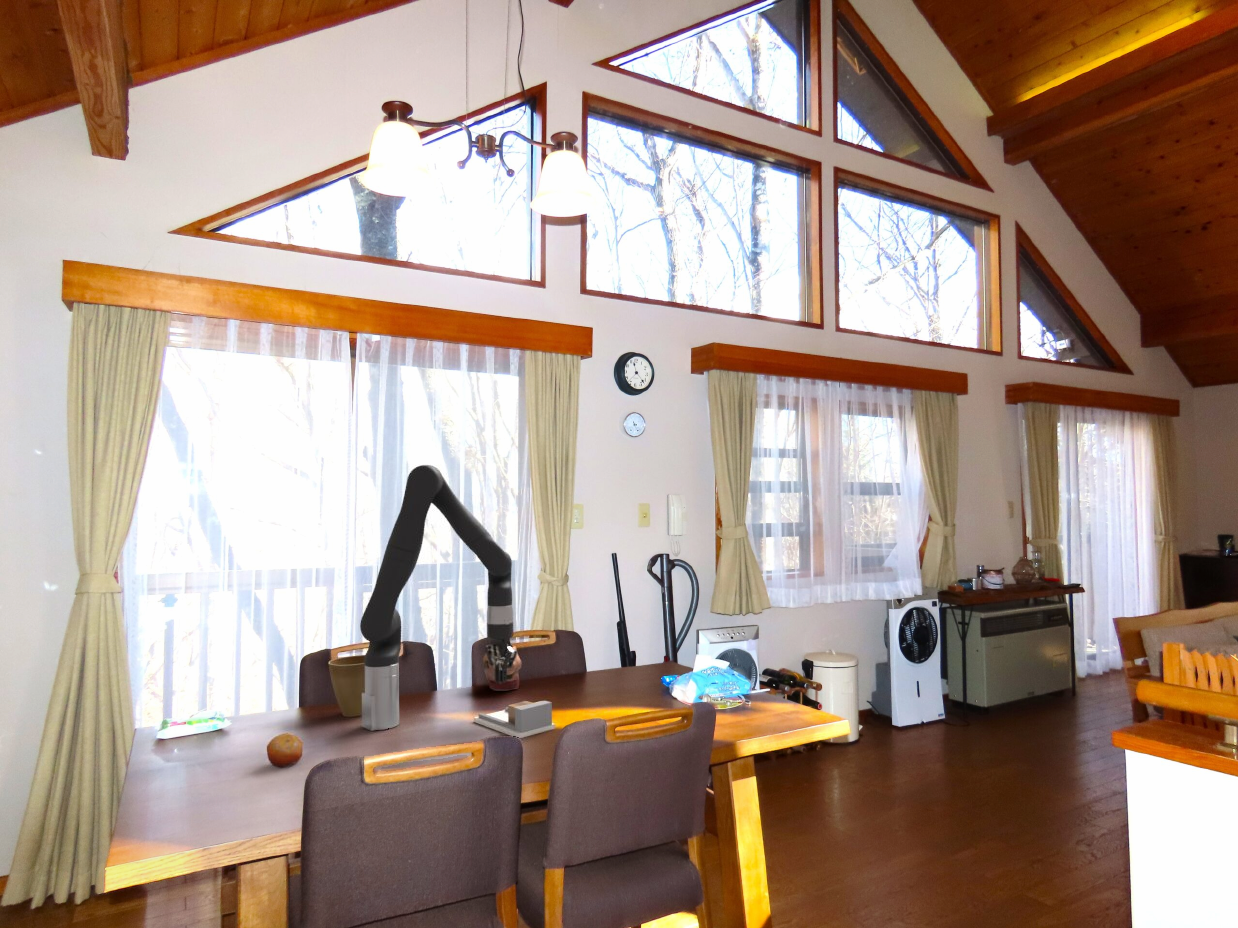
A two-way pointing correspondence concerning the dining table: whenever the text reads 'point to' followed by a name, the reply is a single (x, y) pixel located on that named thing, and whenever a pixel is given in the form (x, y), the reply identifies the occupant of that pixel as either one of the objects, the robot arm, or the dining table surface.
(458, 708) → the dining table surface
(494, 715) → the base
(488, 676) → the decorative planter
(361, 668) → the plant pot
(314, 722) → the dining table surface
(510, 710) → the block
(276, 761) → the fruit
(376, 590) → the robot arm
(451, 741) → the dining table surface
